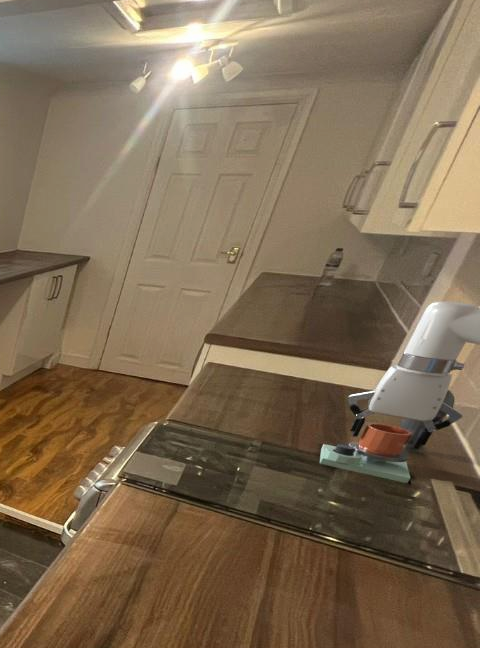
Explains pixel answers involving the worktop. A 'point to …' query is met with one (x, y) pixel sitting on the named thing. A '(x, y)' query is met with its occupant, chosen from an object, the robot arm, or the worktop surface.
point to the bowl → (384, 439)
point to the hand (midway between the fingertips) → (384, 440)
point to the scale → (364, 465)
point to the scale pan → (378, 455)
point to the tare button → (345, 449)
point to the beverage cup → (417, 425)
